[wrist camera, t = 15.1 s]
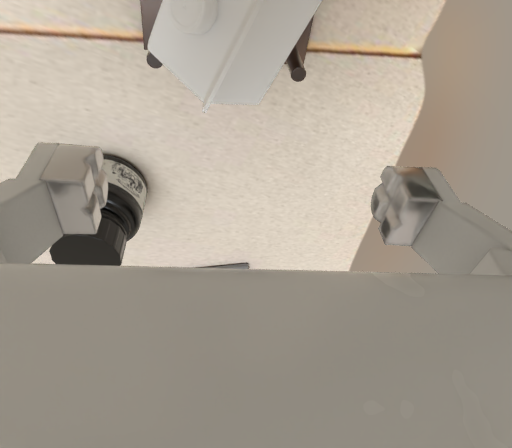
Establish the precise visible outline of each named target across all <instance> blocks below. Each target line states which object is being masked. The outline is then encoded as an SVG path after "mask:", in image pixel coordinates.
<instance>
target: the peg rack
mask: <svg viewBox="0 0 512 448" xmlns="http://www.w3.org/2000/svg"><path fill="white" fill-rule="evenodd" d="M140 1H141V14H142V27H143V40H144V50H148V41H149V38H150V35H151V32H152V29H153V26H154V23H155V20H156V18H157V15H158V12H159V9H160V6H161V4H162V1H163V0H140ZM313 17H314V15H313ZM313 17H312V18H311V20H310V22H309V23H308V25H307V26H306V28H305V30H304V31H303V33H302V35H301V36H300V38H299V40H298V41H297V43H296V44H295V46H294V48H293V49H292V51H291V53H290V54H289V56H288V58H287V59H286V61H285V62H284V64H288V68H289V71H290V74H291V77H292V79H293V80H294V81H297V82H299V81H302V80H303V79H304V78H305V76H306V71H305V68H304V65H303V64H304V59H305V55H306V50H307V45H308V40H309V36H310V31H311V26H312V21H313ZM147 63H148V64H149V65H150V66H151V67H152V68H159V67H161V66H162V63H161V62H160V61H159V60H158V59H157V58H156V57H155V56H154V55H153V54H152V53H151V52H150V51H149V52H148V55H147Z"/></svg>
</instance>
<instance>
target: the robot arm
mask: <svg viewBox="0 0 512 448" xmlns="http://www.w3.org/2000/svg"><path fill="white" fill-rule="evenodd" d="M103 162H104V158H103V153H102V150H101V148H100V147H96V146H84V145H72V144H59V143H45V142H41V143H38V144H37V145H36V146H35V148H34V149H33V151H32V153H31V154H30V156H29V158H28V159H27V161H26V163H25V164H24V166H23V167H22V169H21V171H20V172H19V174H18V176H17V177H16V179H8V180H6V181H4V182H2V183H0V448H512V231H511V230H509V229H508V228H506V227H504V226H503V225H501V224H499V223H498V222H496V221H495V220H493V219H491V218H490V217H488V216H487V215H485V214H483V213H482V212H480V211H478V210H477V209H475V208H473V207H472V206H470V205H469V204H467V203H462V202H460V200H459V199H458V197H457V196H456V194H455V193H454V191H453V190H452V188H451V187H450V186H449V184H448V182H447V181H446V179H445V178H444V176H443V175H442V173H441V172H440V171H439V170H438V169H436V168H429V167H419V168H418V167H417V168H416V167H397V166H387V167H386V168H385V169H384V170H383V172H382V174H381V176H380V177H381V180H382V184H380V185H379V186H378V187H376V188H375V190H374V193H373V195H372V199H371V211H372V214H373V217H374V218H375V219H376V220H377V221H379V222H380V223H381V224H380V226H379V228H378V229H379V231H380V234H381V236H382V239H383V241H384V243H385V245H401V246H412V249H413V250H414V251H415V252H416V253H418V254H419V255H420V256H421V257H422V258H423V259H424V260H425V261H426V262H427V263H428V264H429V265H430V266H431V267H432V268H433V269H434V270H435V271H436V272H437V273H438V274H426V273H389V272H350V271H311V270H269V269H226V268H187V267H147V266H108V265H68V264H31V263H32V262H33V261H34V260H35V259H37V258H38V257H39V256H40V255H41V254H42V253H44V252H45V251H46V250H47V249H48V248H49V247H50V246H52V245H53V244H54V243H55V242H56V241H57V240H59V239H60V238H61V237H62V236H63V234H96V233H97V230H98V227H99V224H100V221H101V217H102V216H101V212H100V209H101V208H103V207H104V206H105V205H106V201H107V196H108V179H107V173H106V172H105V171H104V170H103V169H101V167H102V165H103Z"/></svg>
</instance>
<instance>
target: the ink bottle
mask: <svg viewBox="0 0 512 448" xmlns="http://www.w3.org/2000/svg"><path fill="white" fill-rule="evenodd" d="M103 158H104V162H103V165H102V167H101V169H103V170H104V171H105V172H106V173H107V179H108V196H107V201H106V205H105V206H104V207H103V208H101V209H100V212H101V216H102V217H101V221H100V224H99V227H98V230H97V233H96V234H63V236H62V237H61V238H60V239H59V240H57V241H56V242H55V243H54V244H53V245H52V246H51V248H50V254H51V257H52V261H54V262H55V263H56V264H68V265H108V266H120V265H121V263H122V259H123V255H124V250H125V246H126V242H127V241H128V240H130V239H131V238H132V237H133V236H134V235H135V234H136V233H137V231H138V230H139V227H140V224H141V219H142V215H143V210H144V206H145V201H146V195H147V185H146V182H145V180H144V178H143V176H142V175H141V174H140V172H139V171H138V170H137V169H136V168H135V167H133V166H132V165H131V164H129V163H128V162H126V161H124V160H122V159H120V158H117V157H114V156H109V155H103Z"/></svg>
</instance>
